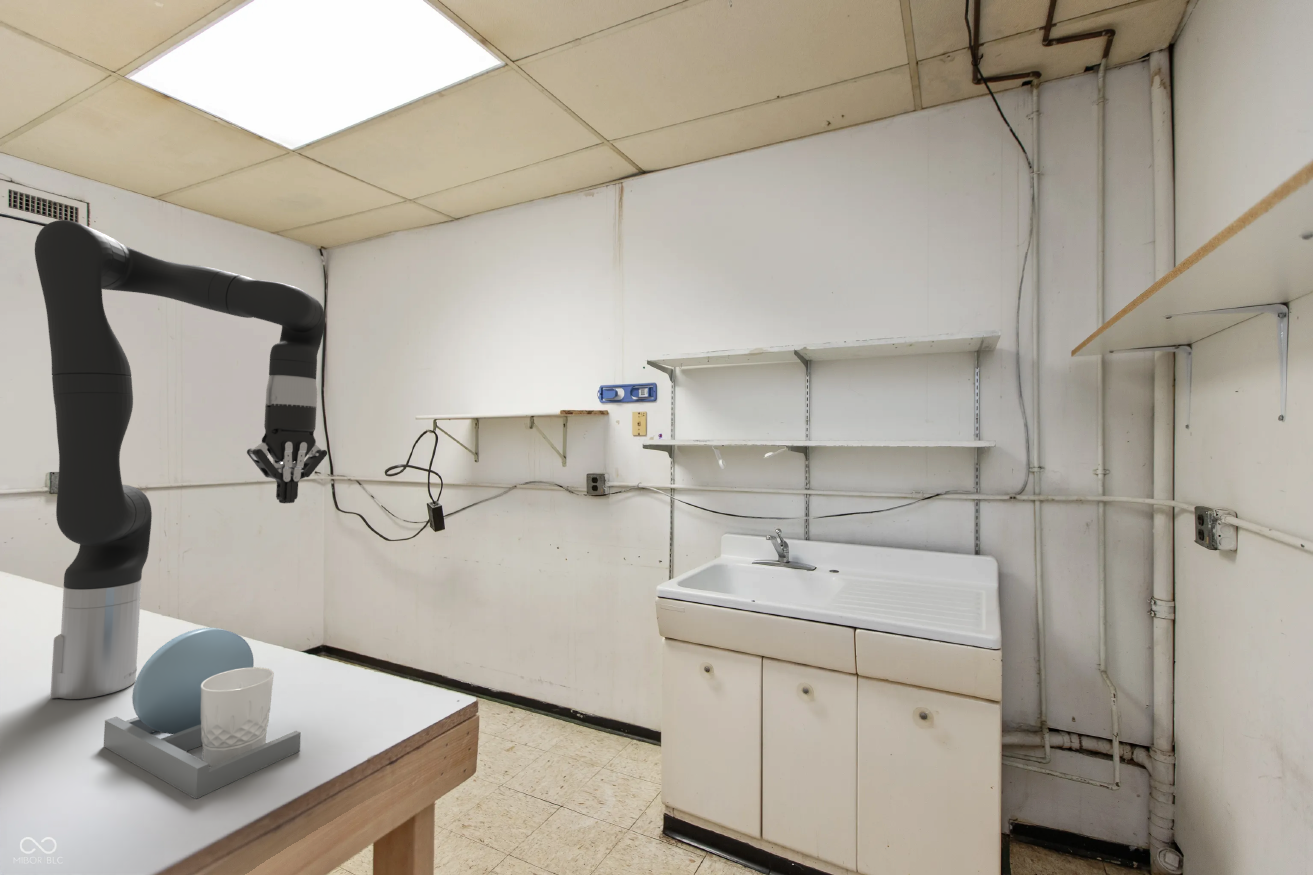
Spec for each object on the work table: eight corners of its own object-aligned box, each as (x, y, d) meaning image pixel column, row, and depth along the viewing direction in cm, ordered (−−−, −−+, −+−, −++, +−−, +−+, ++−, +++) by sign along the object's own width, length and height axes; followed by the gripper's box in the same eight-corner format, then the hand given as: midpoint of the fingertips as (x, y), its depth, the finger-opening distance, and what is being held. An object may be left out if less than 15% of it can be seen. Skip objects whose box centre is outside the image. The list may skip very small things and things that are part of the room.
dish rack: (230, 702, 90) (234, 613, 90) (322, 740, 80) (327, 639, 80) (103, 746, 76) (109, 640, 77) (195, 798, 66) (202, 677, 67)
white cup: (209, 777, 70) (213, 696, 71) (187, 756, 75) (191, 679, 75) (280, 751, 77) (284, 676, 77) (255, 732, 81) (259, 662, 82)
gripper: (315, 406, 107) (310, 498, 107) (237, 400, 95) (232, 503, 95) (341, 406, 104) (336, 501, 103) (264, 400, 92) (258, 507, 91)
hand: (286, 502), depth 99 cm, fingers closed
